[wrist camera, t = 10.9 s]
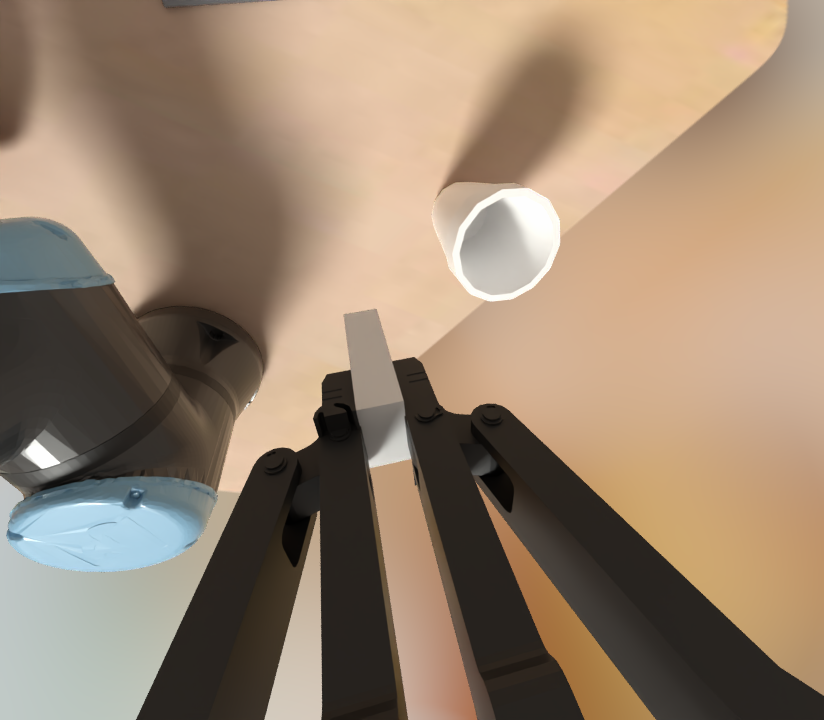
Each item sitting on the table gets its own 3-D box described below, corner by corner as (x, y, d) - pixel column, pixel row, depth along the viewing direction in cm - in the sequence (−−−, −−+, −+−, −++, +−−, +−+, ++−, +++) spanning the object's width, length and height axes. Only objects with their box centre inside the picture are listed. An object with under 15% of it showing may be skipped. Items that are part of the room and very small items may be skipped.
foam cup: (514, 188, 42) (582, 217, 31) (474, 265, 46) (521, 313, 35) (440, 149, 38) (488, 166, 27) (404, 236, 42) (433, 280, 31)
